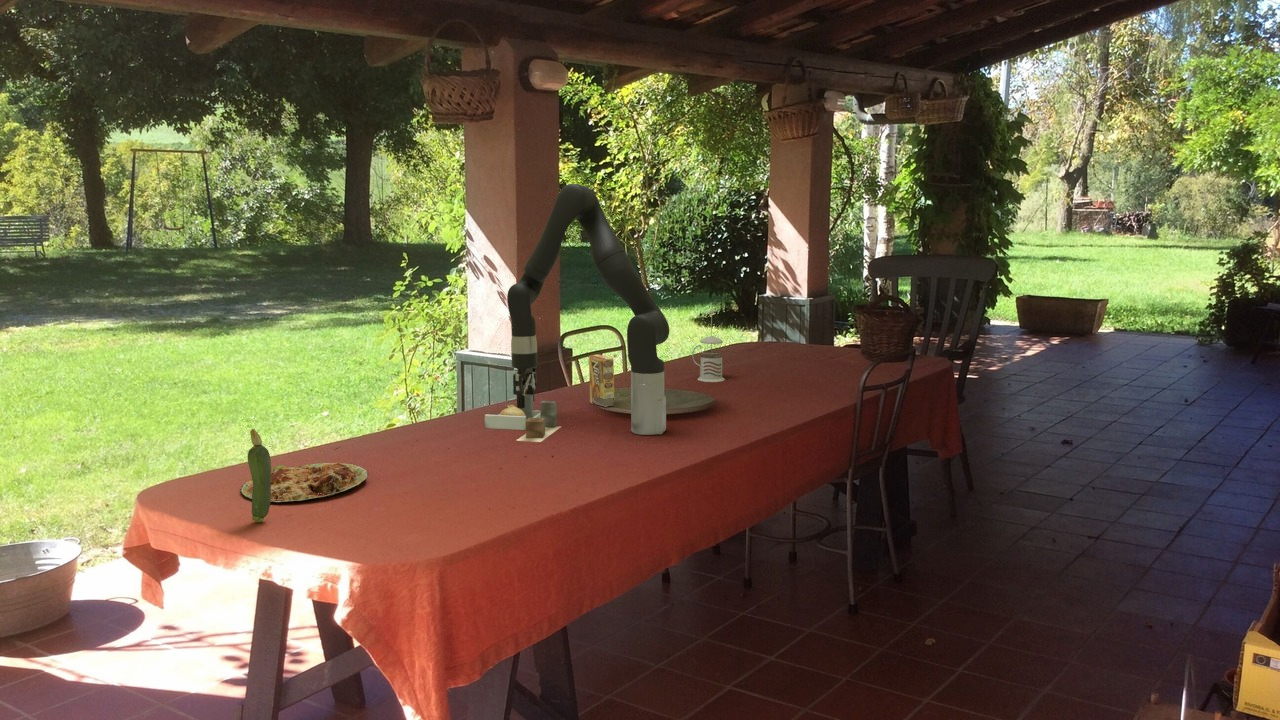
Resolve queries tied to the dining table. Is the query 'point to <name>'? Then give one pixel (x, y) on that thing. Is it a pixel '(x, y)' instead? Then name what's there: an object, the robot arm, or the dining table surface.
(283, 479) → the rice dish
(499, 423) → the grey rectangular frame
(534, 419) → the walnut cube
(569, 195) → the robot arm
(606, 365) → the candy box
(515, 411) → the onion
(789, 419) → the dining table surface
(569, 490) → the dining table surface
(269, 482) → the vegetable
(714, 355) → the french press
